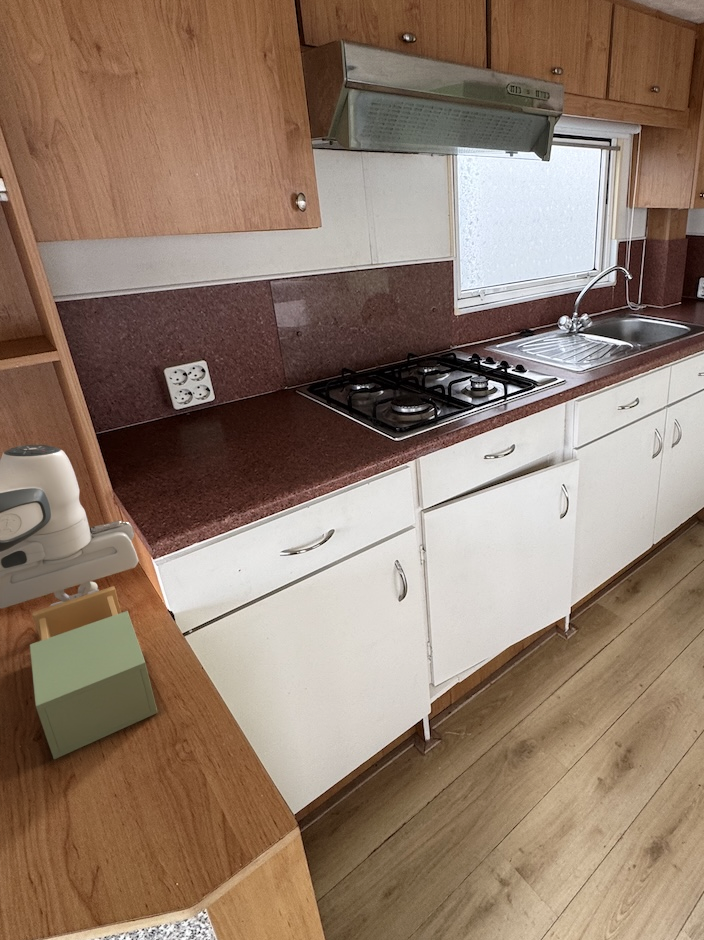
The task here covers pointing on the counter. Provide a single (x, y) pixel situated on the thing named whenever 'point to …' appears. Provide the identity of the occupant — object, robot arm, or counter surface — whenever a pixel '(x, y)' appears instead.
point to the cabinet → (90, 683)
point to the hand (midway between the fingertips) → (77, 605)
